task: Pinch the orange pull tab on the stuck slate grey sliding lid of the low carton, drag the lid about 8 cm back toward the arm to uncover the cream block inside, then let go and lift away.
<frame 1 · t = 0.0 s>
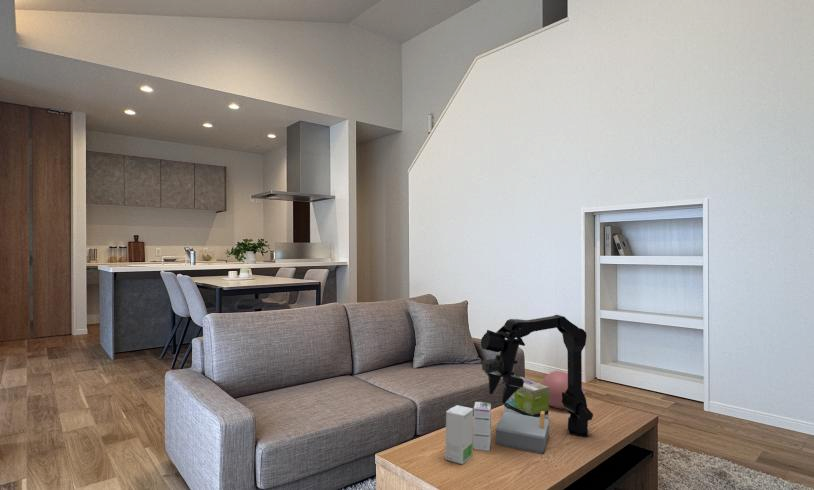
hand: (496, 398, 160), 15 cm above the table, tool pointing down, fingers open, 9 cm apart
balloon: (563, 409, 194), on the table
lid: (523, 417, 162), point 8 cm above the table, slide at 0.0 cm
skincare box: (458, 457, 148), on the table
tea box: (525, 419, 182), on the table
carton: (522, 439, 163), on the table
syrup box: (481, 447, 156), on the table
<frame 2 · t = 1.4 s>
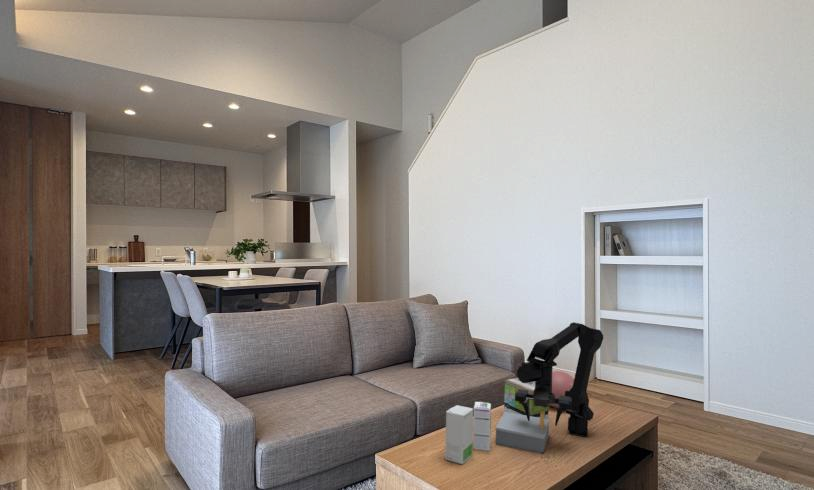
hand: (542, 423, 160), 7 cm above the table, tool pointing down, fingers open, 9 cm apart
nothing on the table moved.
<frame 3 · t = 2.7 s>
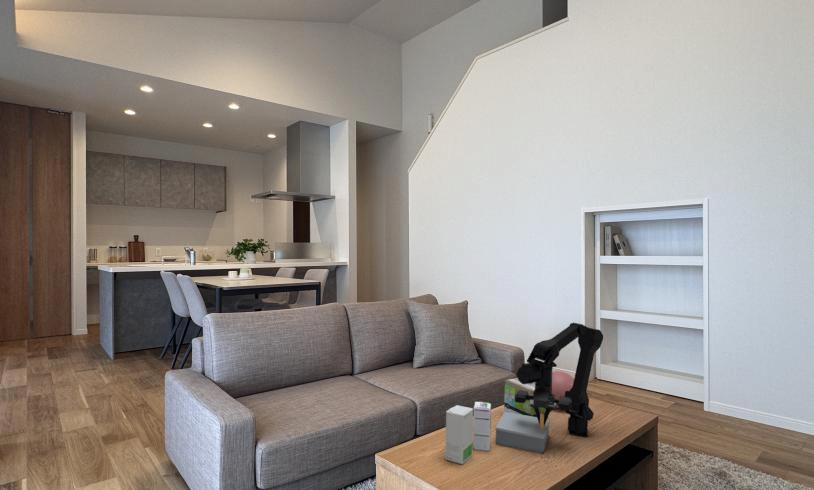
hand: (542, 424, 160), 7 cm above the table, tool pointing down, fingers closed on lid
lid: (523, 417, 162), point 8 cm above the table, slide at 0.0 cm, touching gripper
everything else where it was.
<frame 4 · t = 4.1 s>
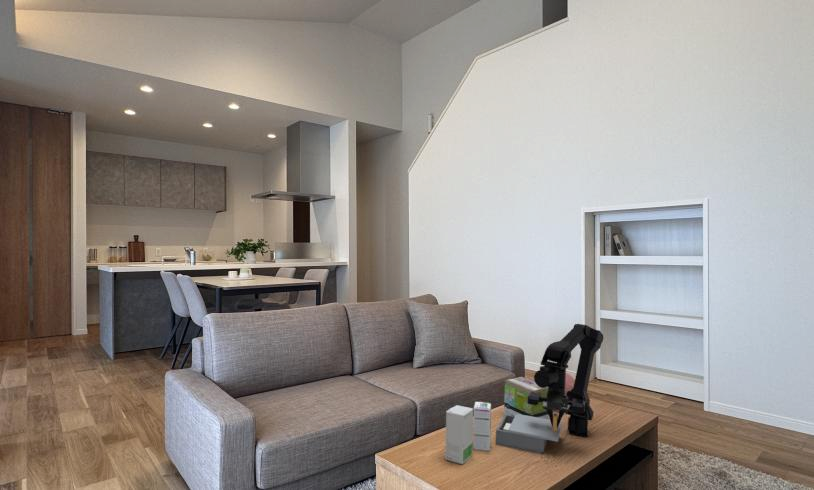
hand: (555, 426, 158), 7 cm above the table, tool pointing down, fingers closed on lid
lid: (536, 419, 161), point 8 cm above the table, slide at 4.4 cm, touching gripper
everything else where it was.
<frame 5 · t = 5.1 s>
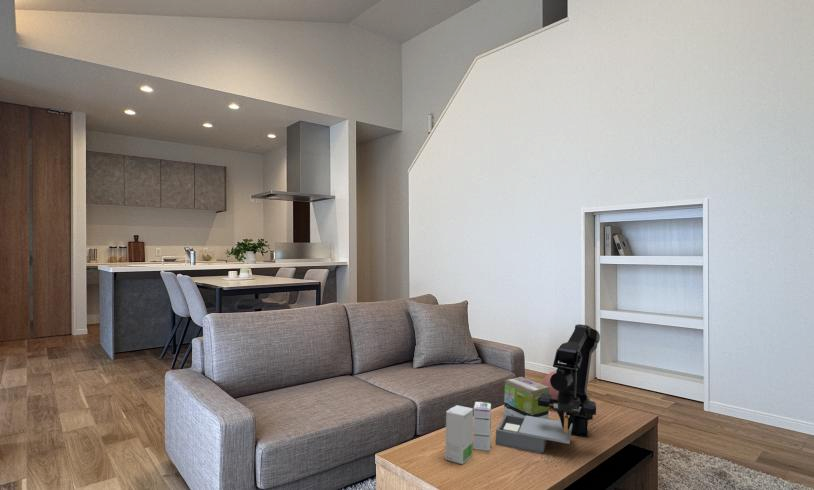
hand: (565, 428, 157), 7 cm above the table, tool pointing down, fingers closed on lid
lid: (546, 421, 159), point 8 cm above the table, slide at 7.9 cm, touching gripper
everything else where it was.
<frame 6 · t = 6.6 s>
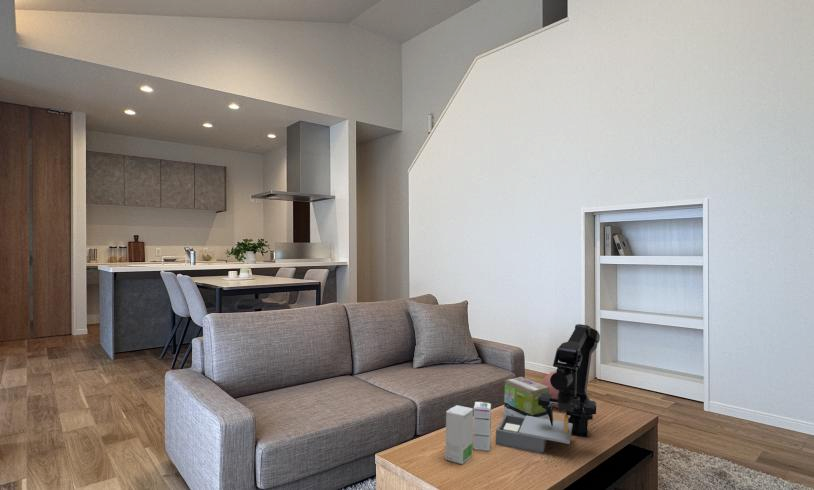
hand: (566, 428, 157), 7 cm above the table, tool pointing down, fingers open, 9 cm apart
lid: (546, 421, 159), point 8 cm above the table, slide at 7.9 cm
everything else where it was.
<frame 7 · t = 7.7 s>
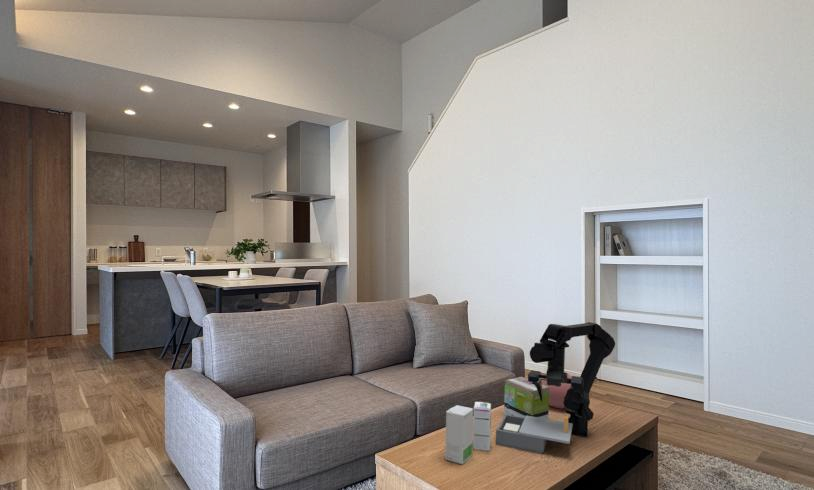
hand: (554, 403, 164), 13 cm above the table, tool pointing down, fingers open, 9 cm apart
nothing on the table moved.
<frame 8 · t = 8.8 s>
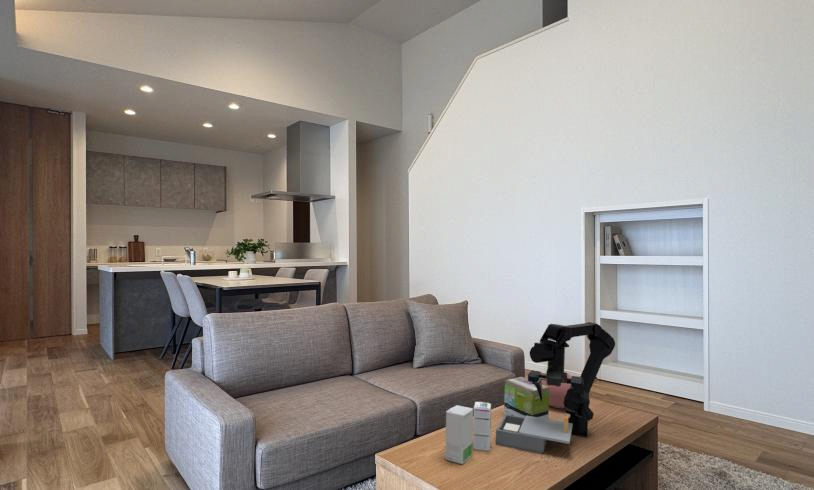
hand: (554, 402, 164), 13 cm above the table, tool pointing down, fingers open, 9 cm apart
nothing on the table moved.
at the end: lid slide at 7.9 cm; the gripper is holding nothing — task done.
